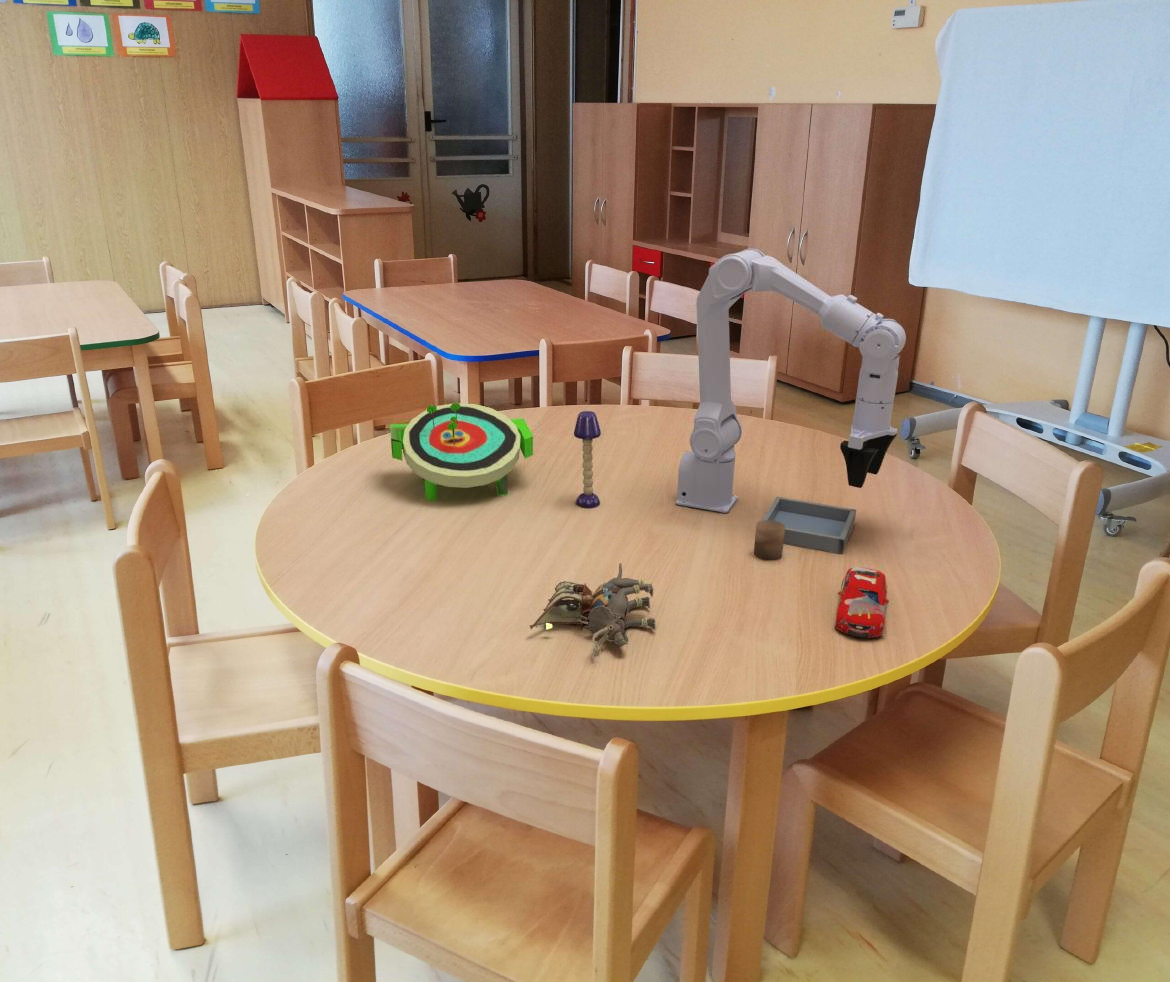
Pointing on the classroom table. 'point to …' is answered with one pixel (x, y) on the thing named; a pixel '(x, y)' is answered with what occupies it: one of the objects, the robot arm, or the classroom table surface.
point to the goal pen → (813, 524)
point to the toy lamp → (587, 456)
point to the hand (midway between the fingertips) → (863, 479)
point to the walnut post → (769, 540)
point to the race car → (862, 603)
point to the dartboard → (461, 446)
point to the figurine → (598, 608)
